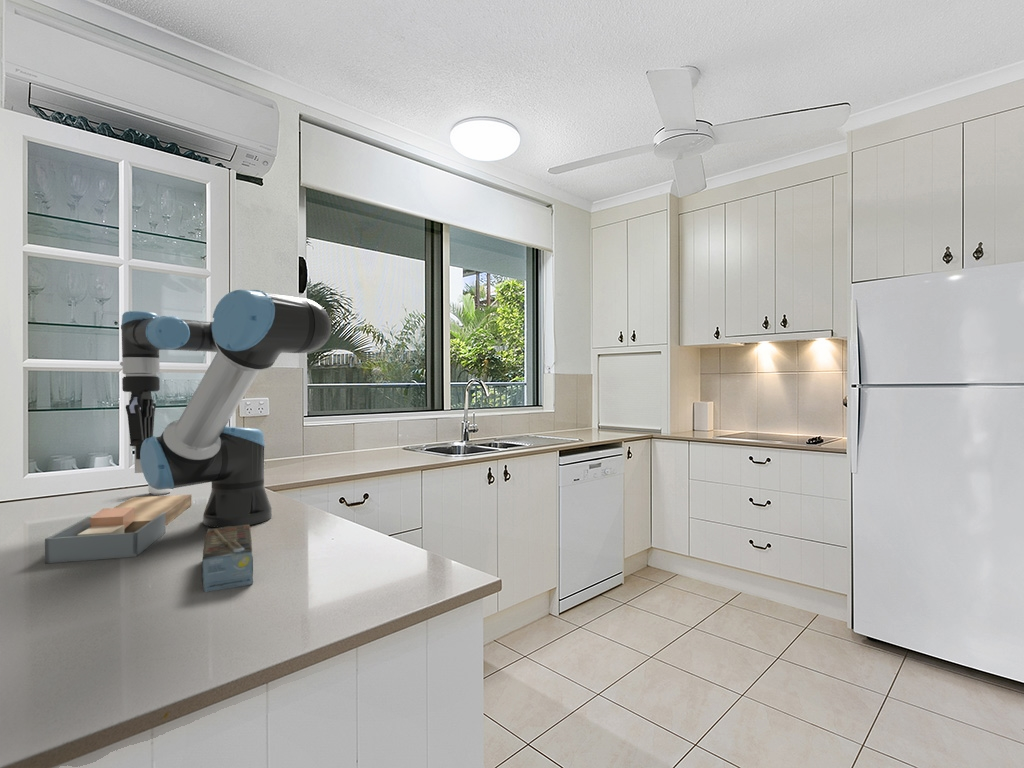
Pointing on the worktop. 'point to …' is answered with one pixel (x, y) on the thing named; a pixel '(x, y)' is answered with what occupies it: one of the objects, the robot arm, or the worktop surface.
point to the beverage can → (158, 491)
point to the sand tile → (103, 530)
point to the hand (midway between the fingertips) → (142, 472)
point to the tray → (101, 542)
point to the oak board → (155, 509)
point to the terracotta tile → (113, 517)
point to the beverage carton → (227, 558)
